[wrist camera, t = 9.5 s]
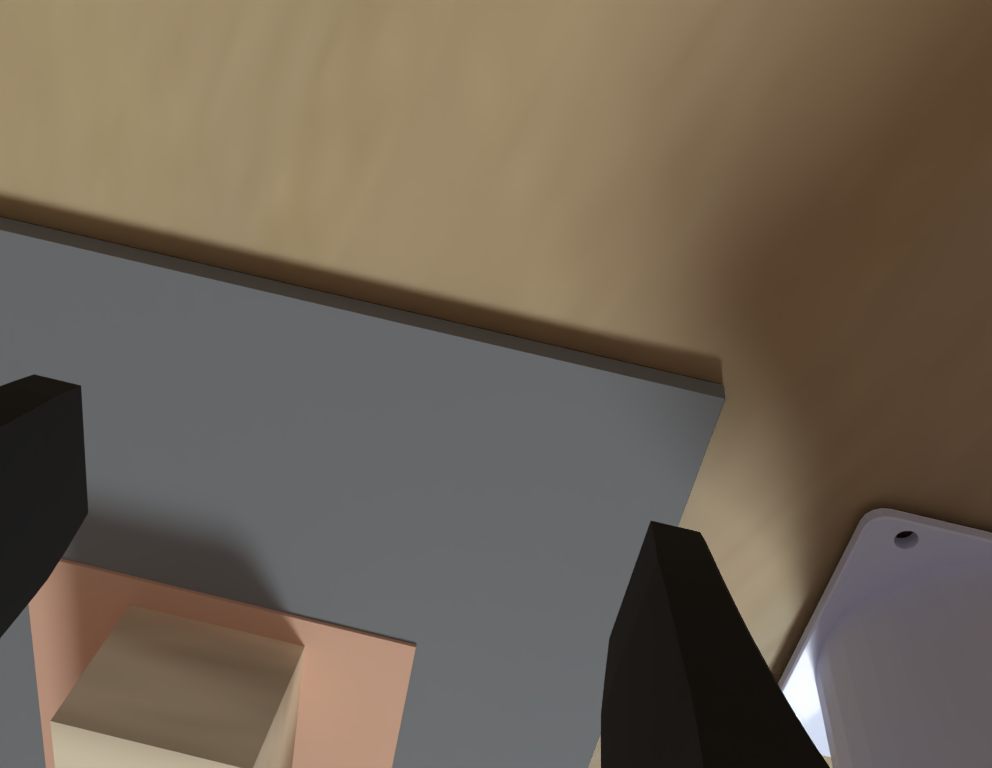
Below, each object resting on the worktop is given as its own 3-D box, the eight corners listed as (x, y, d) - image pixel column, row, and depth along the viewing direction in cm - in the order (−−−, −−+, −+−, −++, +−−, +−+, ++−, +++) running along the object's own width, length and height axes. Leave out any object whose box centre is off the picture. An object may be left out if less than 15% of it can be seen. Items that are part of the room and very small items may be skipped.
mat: (723, 385, 21) (725, 401, 20) (525, 922, 32) (523, 943, 31) (-142, 183, 21) (-164, 193, 20) (-34, 782, 32) (-47, 800, 32)
